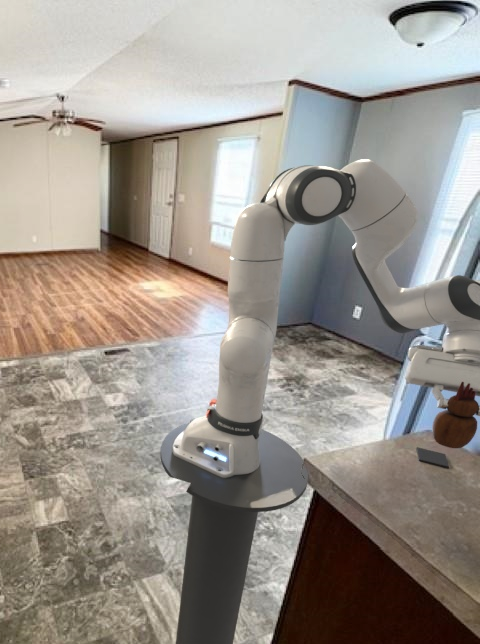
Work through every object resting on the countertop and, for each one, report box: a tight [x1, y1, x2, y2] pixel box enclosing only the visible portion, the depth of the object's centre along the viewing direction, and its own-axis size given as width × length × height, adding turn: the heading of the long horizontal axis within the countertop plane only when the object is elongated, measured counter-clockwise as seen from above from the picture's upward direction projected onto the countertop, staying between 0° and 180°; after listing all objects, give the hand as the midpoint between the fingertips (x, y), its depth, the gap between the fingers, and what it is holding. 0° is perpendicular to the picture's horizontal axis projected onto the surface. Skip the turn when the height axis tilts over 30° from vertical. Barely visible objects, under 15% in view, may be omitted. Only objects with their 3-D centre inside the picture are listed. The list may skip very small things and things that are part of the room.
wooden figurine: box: [432, 382, 479, 449], centre depth 88 cm, size 7×6×15 cm
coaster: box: [416, 446, 450, 469], centre depth 107 cm, size 6×6×1 cm
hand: (461, 411), depth 87 cm, fingers closed on wooden figurine, 5 cm apart
